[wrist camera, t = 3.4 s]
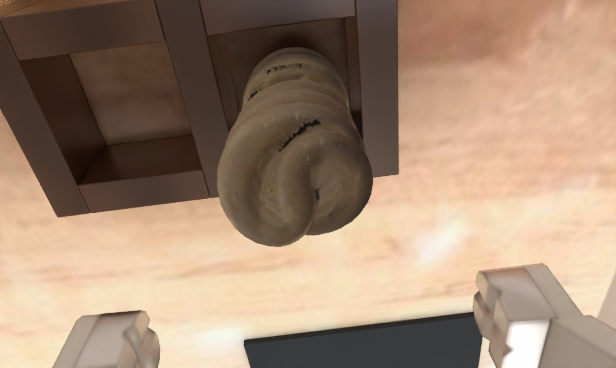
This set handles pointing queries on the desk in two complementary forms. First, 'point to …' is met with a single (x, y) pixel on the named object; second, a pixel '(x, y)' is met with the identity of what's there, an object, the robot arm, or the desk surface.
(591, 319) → the robot arm
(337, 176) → the light bulb
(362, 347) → the mat
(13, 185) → the desk surface
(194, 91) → the stand
